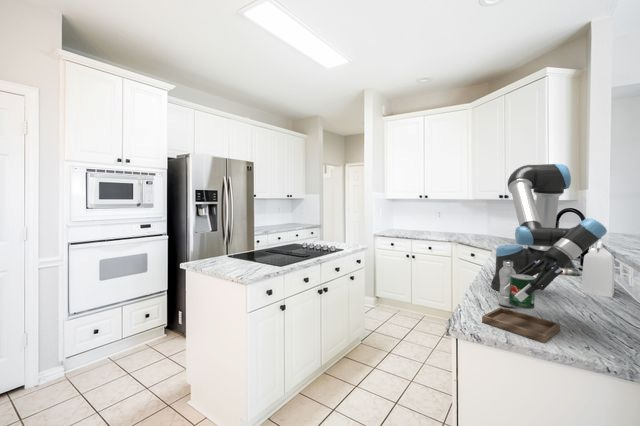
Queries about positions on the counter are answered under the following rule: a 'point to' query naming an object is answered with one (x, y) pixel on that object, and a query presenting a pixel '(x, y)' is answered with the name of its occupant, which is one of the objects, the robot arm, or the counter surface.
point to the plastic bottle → (505, 282)
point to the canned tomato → (516, 286)
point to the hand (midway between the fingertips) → (511, 294)
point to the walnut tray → (522, 324)
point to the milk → (598, 272)
